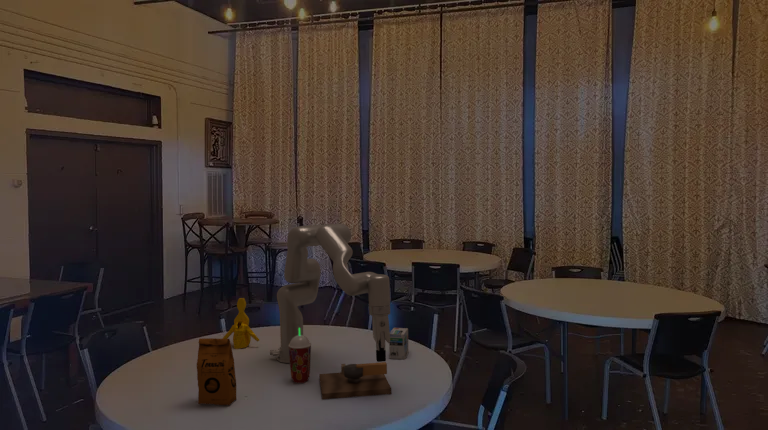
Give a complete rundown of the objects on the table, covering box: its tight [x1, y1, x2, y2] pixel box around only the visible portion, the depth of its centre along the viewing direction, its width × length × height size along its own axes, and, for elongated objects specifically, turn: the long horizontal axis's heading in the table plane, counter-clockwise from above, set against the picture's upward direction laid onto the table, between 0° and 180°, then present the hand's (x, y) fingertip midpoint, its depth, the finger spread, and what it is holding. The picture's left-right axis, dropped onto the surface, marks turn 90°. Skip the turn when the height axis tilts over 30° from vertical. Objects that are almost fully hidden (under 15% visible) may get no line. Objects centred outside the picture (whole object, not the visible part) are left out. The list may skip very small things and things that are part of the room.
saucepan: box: [344, 361, 388, 379], centre depth 199 cm, size 16×7×4 cm, turn 100°
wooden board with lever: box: [318, 363, 392, 400], centre depth 199 cm, size 24×21×5 cm
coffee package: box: [196, 337, 237, 406], centre depth 185 cm, size 10×12×22 cm
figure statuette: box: [221, 297, 260, 350], centre depth 250 cm, size 18×8×22 cm, turn 89°
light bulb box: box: [388, 327, 409, 360], centre depth 234 cm, size 11×7×11 cm, turn 168°
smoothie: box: [288, 328, 312, 384], centre depth 205 cm, size 8×8×20 cm
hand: (381, 360), depth 194 cm, fingers closed
